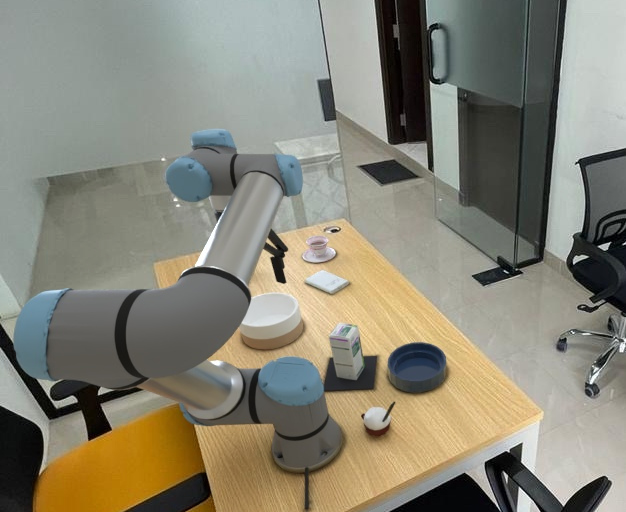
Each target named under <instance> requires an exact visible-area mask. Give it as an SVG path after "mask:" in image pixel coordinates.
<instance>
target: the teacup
mask: <svg viewBox="0 0 626 512" xmlns="http://www.w3.org/2000/svg"><path fill="white" fill-rule="evenodd" d="M305 242H306V245H307V246H308V247H309V248H308V249H306V250H305V251H303V253H302V259H303V260H304V261H306V262H307V263H312V264H314V263H316V264H317V263H319V264H320V263H326V262H328V261H331V260H332V259H334V258H335V257H336V255H337V252H336V250H335V249H334V248H332V247H330V246H328V244H329V238H328V237H327V236H324V235H319V234H318V235H312V236H309V237H307V239H306V240H305Z"/></svg>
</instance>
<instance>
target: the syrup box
mask: <svg viewBox="0 0 626 512" xmlns="http://www.w3.org/2000/svg"><path fill="white" fill-rule="evenodd" d="M328 340H329V346H330V350H331V354H332V358H333V360H334V364H335V369H336V374H337V377H340V378H345V379H351V380H357V378H358V377H359V375H360V374H361V372H362V370H363V369H364V367H365V365H364V359H363V356H364V353H363V348H362V341H361V336H360V329H359V325H356V324H352V323H347V322H345V323H343V322H337V324H336V325H335V327H334V328H333V329H332V330H331V332H330V333H329V335H328Z"/></svg>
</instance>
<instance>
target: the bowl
mask: <svg viewBox="0 0 626 512" xmlns="http://www.w3.org/2000/svg"><path fill="white" fill-rule="evenodd" d="M238 329H239V332H240V335H241V339H242V341H243V342H244V344H246V345H247V346H248V347H250V348H252V349H256V350H273V349H274V350H275V349H279V348H282V347H285V346H287V345H289V344H291V343H292V342H294V341H296V340H297V339H298V338H299V337H300V336H301V335H302V333H303V330H304V322H303V318H302V312H301V308H300V305H299V301H298V299H297V298H296V297H294V296H293V295H291V294H289V293H284V292H265V293H261V294H258V295H255V296H252V298H251V302H250V306H249V308H248V311H247V313H246V316H245V318H244V319H243V321H242V323H241V325H240V326H239V327H238Z"/></svg>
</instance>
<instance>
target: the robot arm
mask: <svg viewBox="0 0 626 512" xmlns="http://www.w3.org/2000/svg"><path fill="white" fill-rule="evenodd" d="M190 143H191V149H192V151H190V152H188V153H186V154H184V155H181V156H179V157H177V158H176V159H175V160H174V161H173V162H171V164H168V167H167V168H166V171H165V173H164V175H165V176H164V178H165V183H166V185H167V188H168V190H169V191H170V192H171V194H173V195H174V196H175V197H177V198H178V199H179V200H182V201H184V202H187V203H199V202H201V201H204V200H206V199H209V202H210V206H211V208H212V209H213V210H214V212H213V214H214V218H215V220H216V225H215V227H214V228H213V230H212V232H211V234H210V237H208V238H207V242H206V244H205V246H204V247H203V250H202V252H201V253H200V256H199V257H198V259H197V261H196V263H195V265H194V266H192V267H189V268H186V269H185V270H184V271H182V273H181V274H180V275H179V276H178V279H177V281H176V282H175V283H174V284H171V285H170V286H167V287H162V288H133V289H132V288H131V289H127V288H125V289H124V288H123V289H74V288H70V287H68V288H67V287H66V288H63V289H54V290H53V289H51V290H45V291H41V292H39V293H38V294H36V295H35V296H33V297H31V298H29V300H28V301H27V302H26V303H25V304H24V305H23V306H22V308H21V310H20V311H19V314H18V316H17V318H16V321H15V324H14V330H13V336H12V337H13V338H12V339H13V342H12V343H13V350H14V351H15V355H16V356H15V357H16V361H17V363H18V365H19V367H20V368H21V369H22V370H23V371H24V372H25V373H26V374H27V375H28V376H29V377H32V378H33V379H36V380H43V381H50V382H58V381H67V380H68V381H80V382H83V383H88V384H90V385H94V386H97V387H100V388H104V389H106V390H111V391H112V390H113V391H125V390H131V389H134V388H138V389H141V390H144V391H146V392H149V393H152V394H155V395H156V396H157V395H158V396H161V397H163V398H166V399H169V400H172V401H175V402H178V404H179V409H180V411H181V412H182V413H183V417H184V419H185V420H186V421H187V422H189V423H190V424H192V425H195V426H202V427H215V426H238V425H239V426H242V425H243V426H244V425H272V426H273V429H274V430H273V436H272V443H271V453H272V456H273V460H274V462H275V463H276V465H277V466H278V467H280V468H281V469H282V470H284V471H285V472H289V473H295V474H304V510H309V509H310V506H309V505H310V493H309V492H310V486H309V485H310V484H309V483H310V482H309V481H310V480H309V478H310V477H309V476H310V475H309V474H310V472H313V471H317V470H319V469H322V468H323V467H325V466H327V465H328V464H329V463H331V462H332V461H333V460H334V459H335V458H336V457H337V455H339V453H340V450H341V448H342V445H343V435H342V431H341V428H340V426H339V424H338V423H337V422H336V420H335V419H334V418H333V416H332V415H331V414H330V413H329V408H328V404H327V399H326V394H325V391H324V382H323V379H322V377H321V374H320V370H319V369H318V367H317V366H316V365H314V364H313V362H312V361H310V360H308V359H306V358H303V357H301V356H292V355H290V356H289V355H287V356H281V357H278V358H276V360H273V359H272V360H270V361H268V362H267V363H265V364H264V365H263V366H262V367H259V368H256V367H255V368H239V367H237V366H235V365H233V364H232V363H230V362H228V361H224V360H209V358H211V357H212V356H213V355H214V354H216V353H218V351H219V350H220V349H222V347H224V345H226V343H227V342H228V341H229V340H230V339H231V338H232V337H233V335H234V334H235V333H236V331H237V330H238V329H239V326H240V325H241V323H242V321H243V319H244V318H245V316H246V313H247V311H248V308H249V306H250V302H251V298H252V297H253V295H252V291H251V289H250V284H251V281H252V279H253V277H254V274H255V271H256V268H257V266H258V263H259V262H260V258H261V255H262V253H263V250H264V251H266V252H267V253H268V254H270V255H272V256H270V257H269V261H270V263H271V266H272V271H273V274H274V278H275V281H276V282H277V283H279V284H282V285H285V284H286V283H287V279H286V275H285V272H284V269H285V268H286V264H285V262H284V261H285V260H284V258H286V253H287V252H288V251H289V248H288V246H287V244H285V243H284V241H283V240H282V239H281V238H280V236H278V234H277V233H276V232H275V230H273V228H272V227H273V225H274V222H275V219H276V217H277V214H278V211H279V209H280V206H281V204H282V202H283V201H282V200H283V199H284V197H287V198H290V197H296V196H299V195H300V194H301V193H302V191H303V185H304V177H303V170H302V165H301V163H300V161H299V159H298V158H297V157H296V156H295V155H293V154H283V153H282V154H281V153H277V152H274V153H238V151H237V150H238V149H237V147H236V143H235V141H234V138H233V136H232V133H231V132H230V131H228V130H227V129H223V128H209V129H203V130H199V131H195V132H192V133H191V134H190ZM267 240H269V241H270V242H271V243H272V244H270V243H268V242H267Z"/></svg>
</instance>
